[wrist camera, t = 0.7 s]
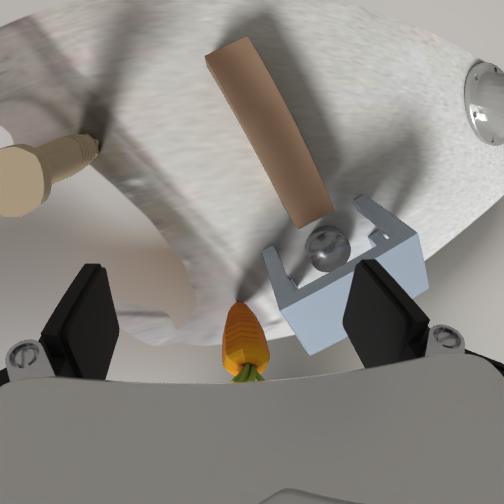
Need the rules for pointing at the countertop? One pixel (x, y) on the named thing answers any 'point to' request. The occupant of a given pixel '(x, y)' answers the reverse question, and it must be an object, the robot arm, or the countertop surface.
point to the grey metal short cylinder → (327, 248)
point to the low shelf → (346, 279)
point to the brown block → (270, 130)
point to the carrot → (244, 345)
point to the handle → (40, 170)
